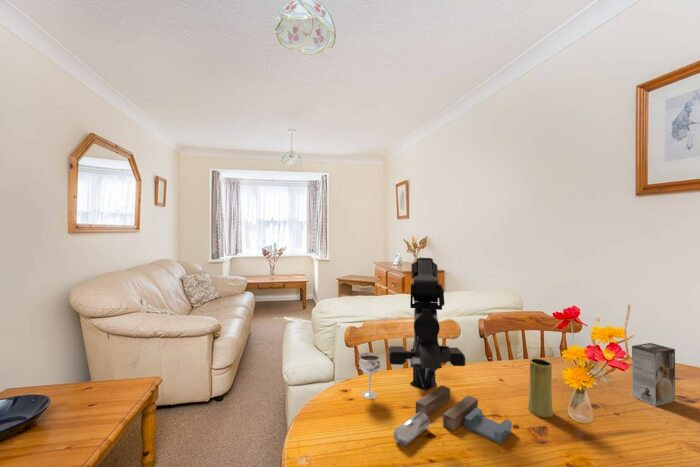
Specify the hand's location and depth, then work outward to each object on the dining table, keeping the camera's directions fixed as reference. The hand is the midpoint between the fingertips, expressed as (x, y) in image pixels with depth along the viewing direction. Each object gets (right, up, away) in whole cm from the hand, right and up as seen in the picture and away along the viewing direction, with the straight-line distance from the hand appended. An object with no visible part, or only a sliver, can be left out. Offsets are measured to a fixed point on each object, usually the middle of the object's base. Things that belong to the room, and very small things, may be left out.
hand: (425, 389), depth 82 cm
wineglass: (-13, -11, +18) cm, 25 cm away
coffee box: (+74, -11, +16) cm, 76 cm away
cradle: (+16, -11, 0) cm, 19 cm away
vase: (+35, -11, +9) cm, 37 cm away
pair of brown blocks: (+8, -11, +9) cm, 16 cm away
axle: (-4, -9, -2) cm, 10 cm away
